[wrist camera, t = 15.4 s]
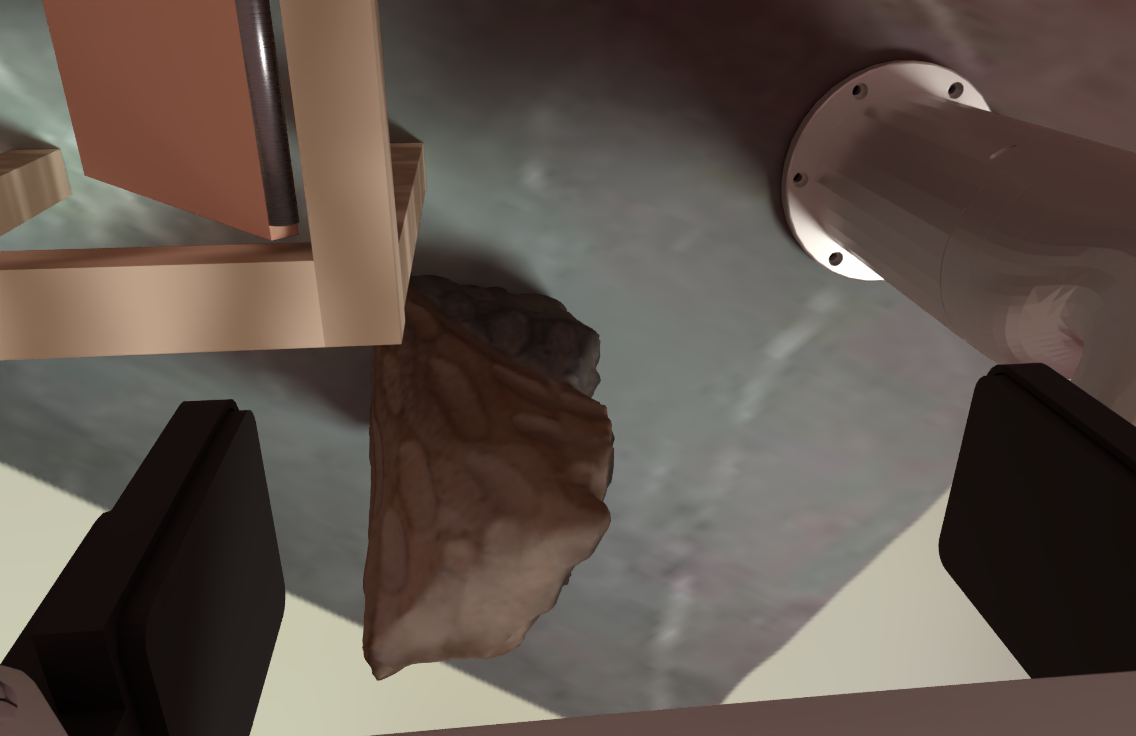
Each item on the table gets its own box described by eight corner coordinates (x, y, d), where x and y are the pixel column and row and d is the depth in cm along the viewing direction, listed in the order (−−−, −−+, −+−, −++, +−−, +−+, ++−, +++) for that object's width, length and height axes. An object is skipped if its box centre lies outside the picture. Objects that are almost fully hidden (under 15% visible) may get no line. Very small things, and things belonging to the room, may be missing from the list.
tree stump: (591, 293, 51) (658, 474, 33) (553, 471, 56) (594, 711, 38) (377, 263, 49) (325, 438, 31) (358, 451, 54) (304, 695, 36)
